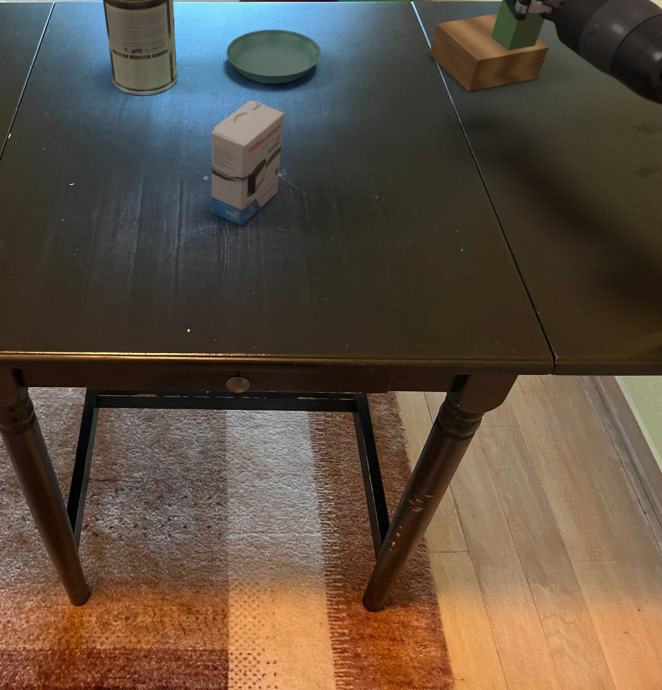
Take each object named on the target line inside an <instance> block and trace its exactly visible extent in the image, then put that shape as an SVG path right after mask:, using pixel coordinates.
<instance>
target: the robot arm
mask: <svg viewBox="0 0 662 690" xmlns="http://www.w3.org/2000/svg"><path fill="white" fill-rule="evenodd" d="M504 1H505V3H506V4H507V6H508V8H509V9H510V11H511V13H512V15H513V16H514V18H515V19H516V20H519V21H523V20H525V19H526V16H527V13H539V15H540V16H541V17H542V18H543V19H545V20H546V21H549V22H552V23H553V24H554V28H555V31H556V36H557V38H558V40H559V42H560V43H561V44H562V45H564V46H565V47H566V48H568V49H569V50H571V51H572V52H573V53H574V54H576V55H577V56H579V57H580V58H581V59H583V60H584V61H586V62H587V63H588V64H589V65H591V66H592V67H594V68H595V69H596V70H598V71H600V72H601V73H602V74H604V75H607V76H609V77H611V78H613V79H615V80H616V81H617V82H619V83H620V84H621V85H623V86H624V87H625V88H626V89H628V90H630V91H631V92H632V93H633V94H636V95H637V96H638V97H640V98H642V99H644V100H646V101H649V102H651V103H654V104H657V105H661V106H662V7H660V6H659V5H658V4H657V3H655V2H654V1H652V0H504Z"/></svg>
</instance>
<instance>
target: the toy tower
mask: <svg viewBox="0 0 662 690" xmlns="http://www.w3.org/2000/svg"><path fill="white" fill-rule="evenodd" d="M497 13H498V15H497V18H496V22H495V25H494V28H493V31H492V34H491V37H492V38H493V39H494V40H495V41H497V42H498V43H499V44H500V45H501V46H503V47H504V48H505V49H506V50H508V51H510V50H515V49H521V48H526V47H532V46H535V44H536V41H537V39H539V36H540V33H541V30H542V28H543V25H544V23H545V20H546V19H543V18H542V17H541V16H540V15H539V13H527V16H526V19H525V20H523V21H519V20H516V19H515V18H514V16H513V15H512V13H511V11H510V9H509V8H508V6H507V4H506V3H505V1H504V0H501V2H500V6H499V9H498V12H497Z"/></svg>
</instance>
